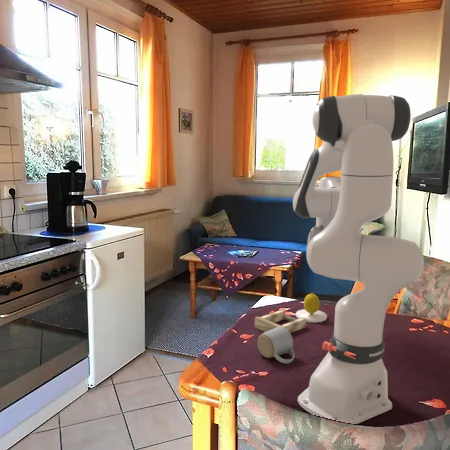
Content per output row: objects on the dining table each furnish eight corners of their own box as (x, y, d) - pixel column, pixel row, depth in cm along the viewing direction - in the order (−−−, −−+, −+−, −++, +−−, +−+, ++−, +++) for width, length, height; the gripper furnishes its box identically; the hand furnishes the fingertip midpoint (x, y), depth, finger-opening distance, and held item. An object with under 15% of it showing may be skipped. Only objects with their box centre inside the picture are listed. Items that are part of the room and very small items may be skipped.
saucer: (314, 325, 145) (314, 322, 145) (289, 316, 153) (289, 313, 153) (333, 317, 152) (333, 315, 152) (308, 309, 160) (308, 307, 160)
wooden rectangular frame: (279, 337, 135) (279, 327, 134) (254, 327, 143) (254, 317, 142) (307, 326, 144) (307, 316, 144) (282, 317, 152) (282, 308, 152)
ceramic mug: (254, 353, 123) (255, 328, 122) (274, 346, 128) (275, 322, 127) (280, 368, 115) (282, 341, 114) (301, 360, 120) (302, 334, 119)
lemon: (320, 317, 150) (321, 295, 149) (304, 317, 150) (305, 295, 149) (317, 311, 155) (318, 290, 154) (302, 311, 155) (302, 290, 154)
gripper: (319, 228, 135) (317, 270, 137) (353, 223, 149) (351, 261, 151) (303, 225, 140) (301, 266, 141) (337, 221, 153) (335, 259, 155)
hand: (327, 264), depth 146 cm, fingers open, 8 cm apart
